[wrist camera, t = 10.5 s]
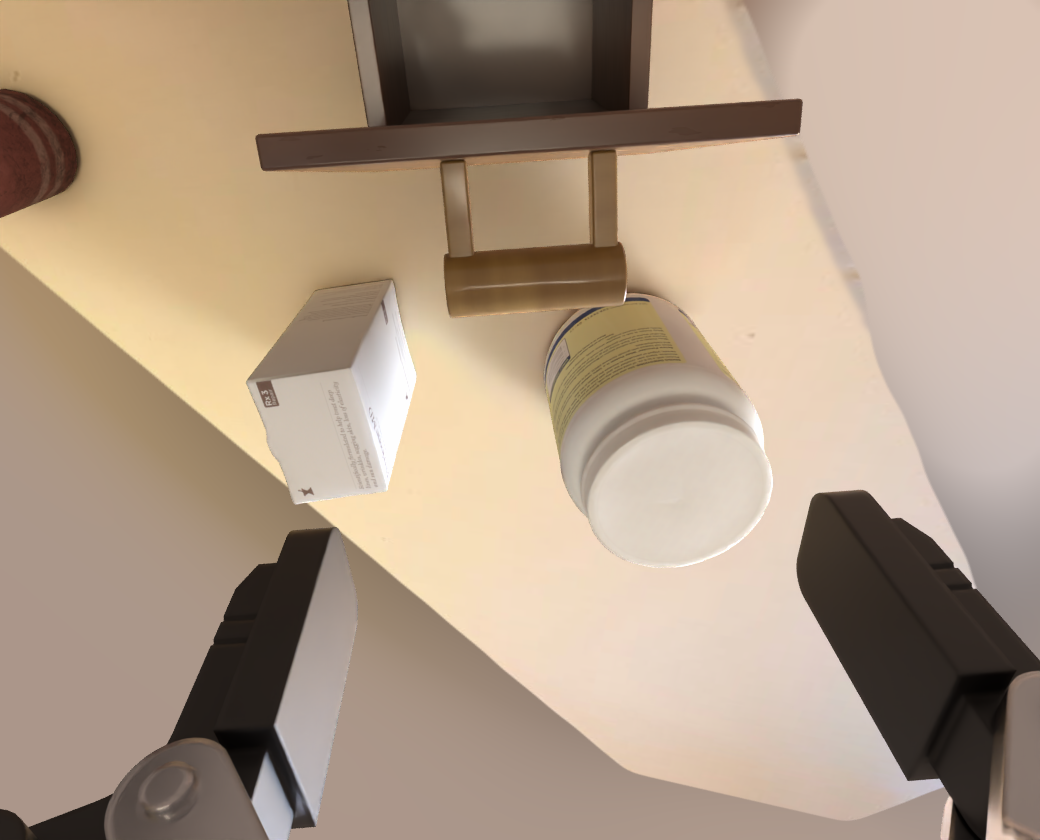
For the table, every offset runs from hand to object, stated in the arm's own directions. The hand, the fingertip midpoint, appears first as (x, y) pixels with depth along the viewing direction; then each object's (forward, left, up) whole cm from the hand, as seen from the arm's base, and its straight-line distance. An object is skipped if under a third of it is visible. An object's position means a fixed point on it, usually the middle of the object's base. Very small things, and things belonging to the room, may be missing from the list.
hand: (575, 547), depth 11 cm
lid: (-4, 0, -16) cm, 16 cm away
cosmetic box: (+11, -11, -36) cm, 39 cm away
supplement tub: (+15, +8, -36) cm, 40 cm away
